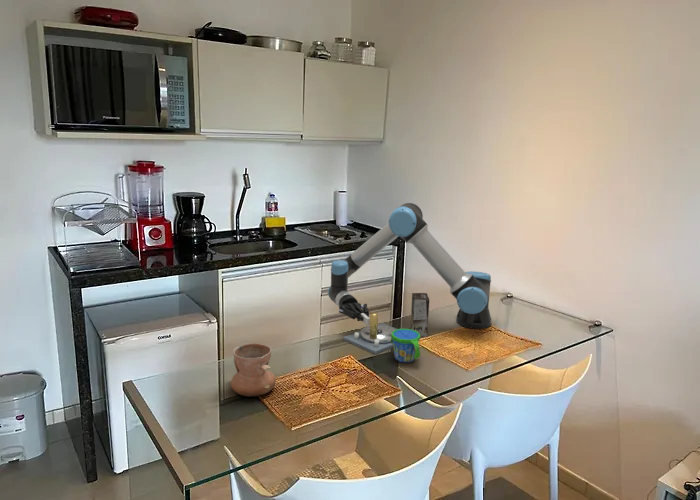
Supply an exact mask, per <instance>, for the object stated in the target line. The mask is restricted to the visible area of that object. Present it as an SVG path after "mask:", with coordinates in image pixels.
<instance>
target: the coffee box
mask: <svg viewBox="0 0 700 500" xmlns="http://www.w3.org/2000/svg"><path fill="white" fill-rule="evenodd" d="M410 311H411V313H410V329H411V330H415V331H417V332H418V333H419V334H420V336H421V337H428V326H429V312H430V298H429V296H428V293H427V292H412V293H411V309H410Z"/></svg>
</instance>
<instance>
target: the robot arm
mask: <svg viewBox="0 0 700 500" xmlns="http://www.w3.org/2000/svg"><path fill="white" fill-rule="evenodd" d="M423 217H424V215H423V211H422V210H421V208H420V206H419V205H417V204H416V203H413V202H406V203H404V204H401V205H400V206H398V207H396V208H395V209H394V210H393V211H392V212H391V213H390V215H389V218H388V223H387V224H385V225H384V226H383V227H382V228H380V229H379V230H378V231H377V232H376V233H374V234H373V235H372V236H371V237H370V238H369V239H367V240H366V241H365V242H364V243H363V244H362V245H360V246H359V247H358V248H357V249H355V250H354V251H353V252H352V253H351V254H350V255H348V256H347V257H346V258H345V259H344V260H342V259H338V260H337V259H336V260H333V261H332V262H331V266H330V267H331V268H330V286H329V288H328V290H327V295H328V297H329V299H330V300H331V302H333V303H334V304H335V305H336V306H337V307H338V308H339V309H338V313H340V314H342V315H345V316H347V317H348V318H350V319H352V320H356V321H357V322H363V323H364V324H365V325H366V326H370V311H369V308H368V303H364V304H361V303H359V302H358V300H357V299H356V297H354V296H353V295H352V294H351V293H350V292H348V286H349V282H348V281H349V278H350V277H351V276H353V274H355V273H356V272H357V271H358V270H359V269H361V267H363V266H364V265H365V264H367V263H368V262H369V261H370V260H371V259H373V258H374V257H376V255H378V254H379V253H380V252H381V251H383V250H384V249H385V248H386V247H388V246H389V245H390V244H392V242H394V241H395V240H396V239H397V238H398V237H399V238H401V239H402V240H403V241H404V242H405V243H406V244H411V245H413V247H414V248H415V249H416V250H417V251H418V252H419V253H420V254H421V256H422V257H423V258H424V259H425V261H427V262H428V264H429V265H430V266H431V267H432V268H433V269H434V271H436V273H438V275H439V276H440V277H441V278H442V280H443V281H444V282H445V283H446V284H447V285H448V286H449V291H450V292H449V293H450V294H451V295H452V296H453V298H454V299H456V304H457V306H458V308H459V309H458V312H457V314H456V317H455V318H456V321H455V322H456V323H457V324H458V325H460V326H462V327H464V328H468V329H474V330H475V329H476V330H477V329H478V330H480V329H487V328H489V327H491V325H492V317H491V312H490V309H489V305H490V304H489V303H490V293H491V283H492V278H491V277H492V276H491V274H489V273H487V272H482V271H473V270H472V271H465V270H464V269H463V268H462V267H461V266H460V265H459V264H458V263H457V262H456V260H455V259H454V258H453V257H452V256H451V255H450V253H449V252H448V251H447V250H446V249H445V248H444V247H443V245H441V243H440V242H439V241H438V240H437V239H436V238H435V237H434V236H433V234H432V233H431V232H430V231H429V230H428V223H427V222H426V221H425V220H424V219H423Z"/></svg>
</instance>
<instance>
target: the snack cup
mask: <svg viewBox="0 0 700 500" xmlns="http://www.w3.org/2000/svg"><path fill="white" fill-rule="evenodd" d="M396 329H397V330H394V331H393V332H392V334H391V343H392V344H393V347H392V348H393V355H394V359H395V360H396V361H398V362H400V363H405V364H407V363H412V362H413V361H414V360H417V359H419V358H420V357H421V351H420V344H419V343H420V342H419V341H420V340H421V337H422V336H420V334H419V333H418V332H417V331H415V330H411V328H396Z"/></svg>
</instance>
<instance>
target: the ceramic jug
mask: <svg viewBox="0 0 700 500" xmlns="http://www.w3.org/2000/svg"><path fill="white" fill-rule="evenodd" d="M232 352H233V357H234V358H233V363H234V366H235V370H236V373H235V374H234V375H233V376H232V377H231V380H230V386H231V389H232V391H234V392H235V393H236V394H237V395H240V396H243V397H251V398H252V396H253V397H259V396H263V395H265V394H267V393H269V392H270V391H271V390H273V389H274V387H275V386H276V383H277V381H276V376H275V374H274V373H273V372H271V371H270V369H271V366H270V365H269V363H270V360H271V357H272V347H271V346H269V345H267V344H266V345H265V344H262V343H256V342H254V343H253V342H251V343H242V344H240V345H238V346H236V347H235V348H234V349H233V351H232Z"/></svg>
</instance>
